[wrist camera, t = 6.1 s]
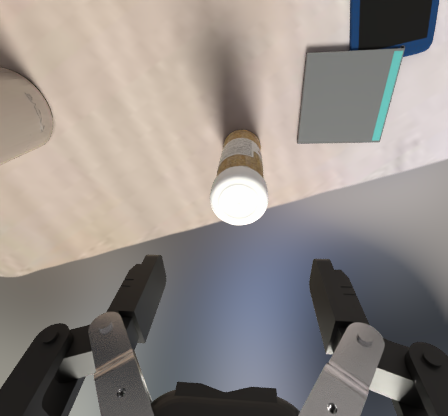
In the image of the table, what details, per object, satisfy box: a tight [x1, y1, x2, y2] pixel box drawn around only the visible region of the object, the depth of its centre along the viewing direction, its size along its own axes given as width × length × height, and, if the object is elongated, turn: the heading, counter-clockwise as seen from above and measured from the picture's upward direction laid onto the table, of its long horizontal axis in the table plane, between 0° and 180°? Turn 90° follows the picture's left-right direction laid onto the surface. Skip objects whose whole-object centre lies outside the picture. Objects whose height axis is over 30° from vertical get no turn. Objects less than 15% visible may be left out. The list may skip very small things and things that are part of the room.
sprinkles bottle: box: [210, 130, 268, 225], centre depth 25 cm, size 5×5×13 cm
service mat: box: [297, 48, 405, 144], centre depth 27 cm, size 9×9×1 cm
